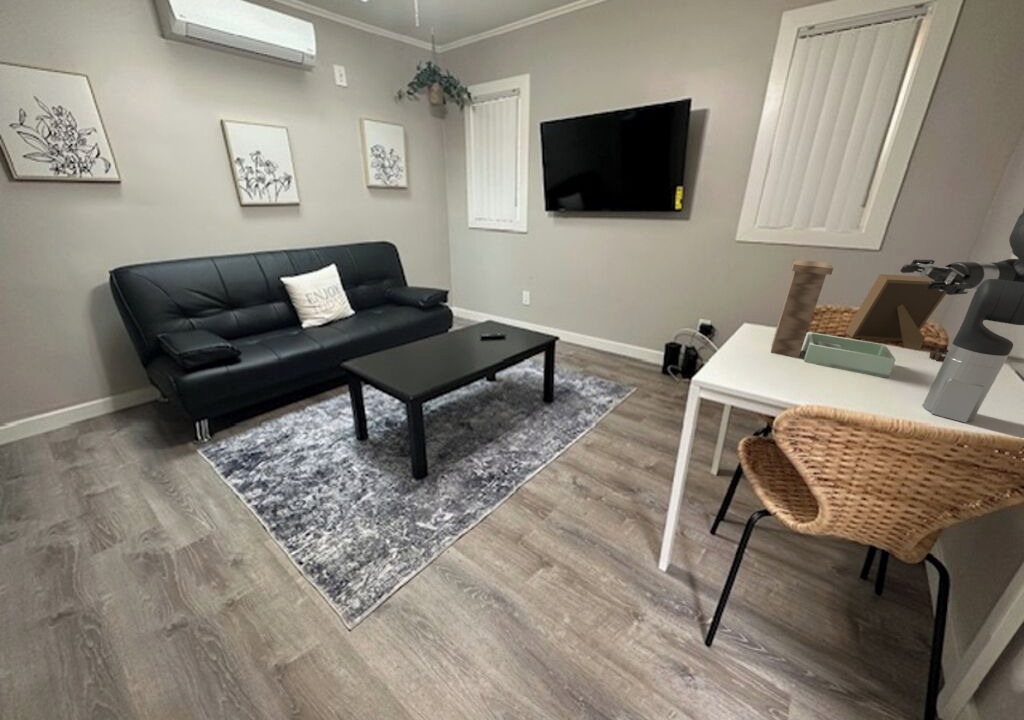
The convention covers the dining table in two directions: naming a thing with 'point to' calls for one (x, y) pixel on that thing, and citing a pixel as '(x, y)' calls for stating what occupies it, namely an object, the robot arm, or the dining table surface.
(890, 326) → the photo frame
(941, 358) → the bear figurine
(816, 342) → the tray
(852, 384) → the dining table surface
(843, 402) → the dining table surface
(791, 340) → the scratching post
